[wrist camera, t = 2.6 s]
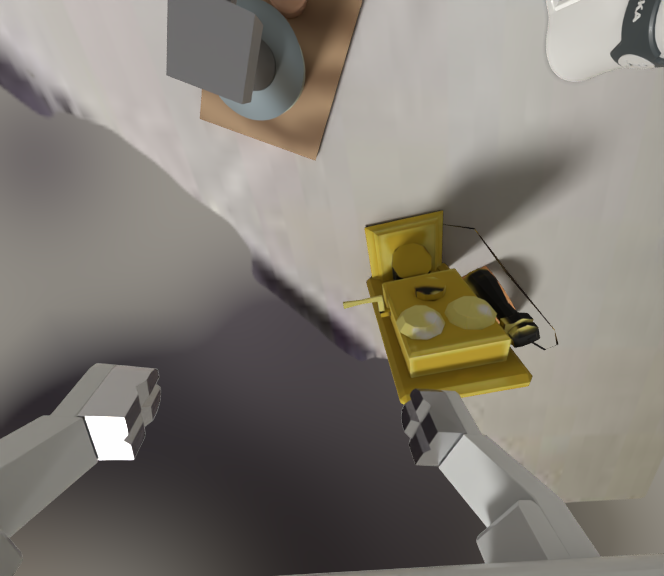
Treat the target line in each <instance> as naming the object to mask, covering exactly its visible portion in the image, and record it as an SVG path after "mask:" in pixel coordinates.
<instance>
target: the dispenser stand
mask: <svg viewBox="0 0 664 576" xmlns="http://www.w3.org/2000/svg"><path fill="white" fill-rule="evenodd" d="M361 4H362V0H308V2H307V5H306V7H305V9H304V11H303V12H302V13H301V14H300V15H299V16H298V17H296V18H292V19H288V18H284V16H283V15H282V14H281V13H280V12H279V11H278V10H277V9H275V8H274V7H273V6H272V4H271V2H270V0H237V3H236V5H237V6H239V7H241V8H244V9H246V10H248V11H250V12H252V13H254V14H256V16H257V17H258V18H259V20H260V21H261V22H262V24H263V30H262V37H261V43H260V49H259V56H258V62H257V68H256V74H255V81H254V87H253V93H252V100H251V102H250V103H246V104H240V103H237V102H235V101H232V100H229V99H227V98H224V97H222V96H219V95H217V94H214V93H211V92H209V91H206V90H204V89H202V97H201V110H200V119H202V120H205V121H208V122H210V123H213V124H216V125H219V126H221V127H224V128H227V129H230V130H232V131H235V132H238V133H241V134H243V135H246V136H249V137H252V138H254V139H257V140H260V141H263V142H266V143H268V144H271V145H274V146H277V147H279V148H282V149H285V150H288V151H290V152H293V153H296V154H299V155H301V156H304V157H307V158H310V159H312V160H316V156H317V153H318V150H319V146H320V143H321V139H322V136H323V133H324V129H325V126H326V122H327V119H328V116H329V112H330V109H331V105H332V102H333V99H334V95H335V92H336V88H337V85H338V82H339V78H340V75H341V71H342V68H343V65H344V61H345V58H346V54H347V51H348V48H349V44H350V41H351V37H352V34H353V31H354V27H355V24H356V20H357V17H358V14H359V10H360V7H361Z"/></svg>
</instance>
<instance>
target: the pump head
mask: <svg viewBox="0 0 664 576" xmlns="http://www.w3.org/2000/svg"><path fill="white" fill-rule="evenodd" d="M236 3H237V0H168V17H167V74H166V75H167V76H170V77H173V78H175V79H178V80H180V81H183V82H186V83H188V84H191V85H193V86H196V87H198V88H201V89H204V90H206V91H209V92H211V93H214V94H217V95H219V96H222V97H224V98H227V99H229V100H232V101H235V102H237V103H240V104H246V103H250V102H251V100H252V93H253V87H254V81H255V74H256V68H257V62H258V56H259V49H260V43H261V37H262V30H263V24H262V22H261V21H260V20H259V18H258V17H257V16H256V14H254V13H252V12H250V11H248V10H246V9H244V8H241V7H239V6H237V5H236Z"/></svg>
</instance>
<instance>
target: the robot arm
mask: <svg viewBox="0 0 664 576" xmlns="http://www.w3.org/2000/svg"><path fill="white" fill-rule="evenodd" d="M546 5H547V10H548V14H549V22H548V29H547V36H546V53H547V58H548V62H549V64H550V67H551V68H552V70H553V71H554V73H555V74H556V75H557V76H559V77H560V78H562V79H564V80H566V81H571V82H580V81H585V80H588V79H591V78H594V77H596V76H598V75H601V74H603V73H606V72H610V71H613V70H617V69H622V68H631V69H651V68H654V67H664V0H546ZM158 379H159V373H158V370H157V369H153V368H142V367H133V366H123V365H110V364H100V363H97V364H95V365H94V366H92V367H91V368H90V369H89V370H88V371H87V372H86V374H85V375H84V376H83V377H82V379H81V380H80V381H79V382H78V383H77V384H76V386H75V387H74V388H73V389H72V390H71V391H70V393H69V394H68V395H67V396H66V397H65V399H64V400H63V401H62V402H61V403H60V405H59V406H58V407H57V408H56V409H55V410H54V412H53V413H52V414H51V415H50V416H42V417H40V418H38V419H36V420H34V421H33V422H31V423H29V424H27V425H25V426H24V427H22V428H20V429H18V430H16V431H14V432H13V433H11V434H9V435H7V436H6V437H4V438H2V439H0V576H13V575H14V574H15V572H16V570H17V569H18V567H19V566H20V564H21V562H22V561H23V557H22V553H21V551H20V550H19V549H18V548H17V547H16V546H15V544H14V543H13V542H12V541H11V540H10V539H9V538H10V537H11V536H12V535H13V534H14V533H16V532H17V531H18V530H19V529H20V528H21V527H23V526H24V525H25V524H26V523H27V522H28V521H30V520H31V519H32V518H33V517H34V516H35V515H37V514H38V513H39V512H40V511H41V510H42V509H43V508H45V507H46V506H47V505H48V504H49V503H50V502H52V501H53V500H54V499H55V498H56V497H57V496H59V495H60V494H61V493H62V492H63V491H64V490H65V489H67V488H68V487H69V486H70V485H71V484H73V483H74V482H75V481H76V480H77V479H78V478H79V477H81V476H82V475H83V474H84V473H85V472H86V471H87V470H89V469H90V468H91V467H92V466H93V465H95V464H96V463H97V460H130V459H131V460H134V458H135V456H136V454H137V452H138V450H139V448H140V446H141V444H142V442H143V440H144V438H145V436H146V435H145V429H144V427H145V426H146V425H148V424H149V423H150V422H152V421H153V419H154V417H155V415H156V412H157V410H158V407H159V404H160V399H161V388H160V387H159V386H158V385H157V384H156V382H157V381H158ZM410 398H411V400H410V401H408V402H407V403H405V404H404V407H403V409H402V414H401V420H402V425H403V429H404V432H405V433H406V434H407V435H408V436H409V437H410V438H411V439H410V442H409V447H410V450H411V453H412V456H413V459H414V462H415V465H426V466H440V467H439V469H440V470H441V471H442V472H443V473H444V475H445V476H446V477H447V478H448V480H449V481H450V482H451V483H452V484H453V485H454V487H455V488H456V489H457V491H458V492H459V493H460V494H461V495H462V497H463V498H464V499H465V501H466V502H467V503H468V504H469V505H470V507H471V508H472V509H473V510H474V512H475V513H476V514H477V515H478V517H479V518H480V519H481V520H482V522H483V523H484V524H485V525H486V526H487V528H486V529H485V530H484V531H483V532H482V533H481V534H480V535H478V537H477V540H476V542H477V544H478V546H479V549H480V552H481V554H482V556H483V559H484V561H485V564H471V565H455V566H439V567H438V566H437V567H421V568H405V569H387V570H369V571H352V572H337V573H318V574H301V575H284V576H664V553H660V554H659V553H658V554H642V555H625V556H609V557H608V556H607V557H601V556H600V555H599V553H598V552H597V550H596V549H595V547H594V546H593V544H592V543H591V542H590V540H589V539H588V537H587V536H586V534H585V533H584V531H583V530H582V528H581V527H580V525H579V524H578V522H577V521H576V520H575V518H574V516H573V515H572V514H571V512H570V511H569V509H568V508H567V506H566V505H565V503H564V502H563V500H562V499H561V498H560V497H559V496H558V495H556V494H555V493H554V492H553V491H552V490H551V489H549V488H548V487H547V486H546V485H545V484H543V483H542V482H541V481H540V480H539V479H538V478H536V477H535V476H534V475H533V474H532V473H530V472H529V471H528V470H527V469H526V468H525V467H523V466H522V465H521V464H520V463H519V462H517V461H516V460H515V459H514V458H513V457H512V456H510V455H509V454H508V453H507V452H506V451H504V450H503V449H502V448H501V447H500V446H499V445H497V444H496V443H495V442H494V441H493V440H491V439H490V438H489V437H488V436H487V435H482V433H481V432H480V430H479V428H478V426H477V425H476V423H475V421H474V419H473V418H472V416H471V414H470V413H469V411H468V409H467V407H466V406H465V404H464V402H463V400H462V399H461V397H460V395H459V394H458V393H457V392H456V391H447V390H436V389H420V388H415V389H413V390H412V391H411V393H410Z"/></svg>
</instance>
